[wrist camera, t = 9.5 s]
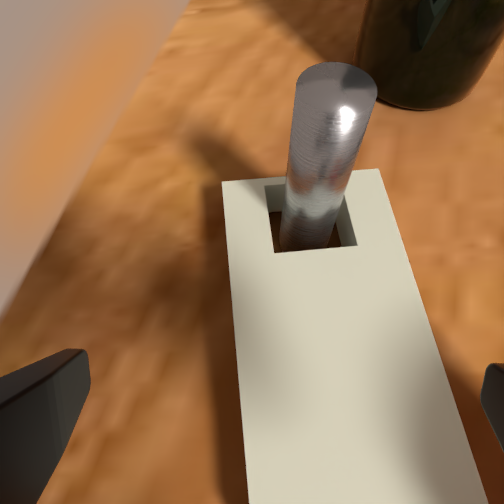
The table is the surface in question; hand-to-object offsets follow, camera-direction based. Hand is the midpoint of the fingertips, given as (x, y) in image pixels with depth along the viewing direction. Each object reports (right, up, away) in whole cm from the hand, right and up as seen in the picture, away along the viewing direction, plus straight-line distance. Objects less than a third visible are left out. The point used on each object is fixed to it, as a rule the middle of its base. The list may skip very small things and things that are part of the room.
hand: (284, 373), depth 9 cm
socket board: (+3, -2, +14) cm, 15 cm away
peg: (+3, +4, +17) cm, 18 cm away
